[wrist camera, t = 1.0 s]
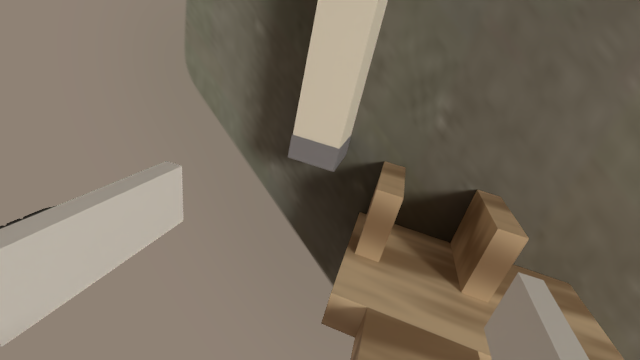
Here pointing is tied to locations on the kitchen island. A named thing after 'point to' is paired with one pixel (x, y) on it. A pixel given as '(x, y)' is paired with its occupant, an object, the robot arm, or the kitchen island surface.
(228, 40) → the kitchen island surface
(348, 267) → the wooden post cradle
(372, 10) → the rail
